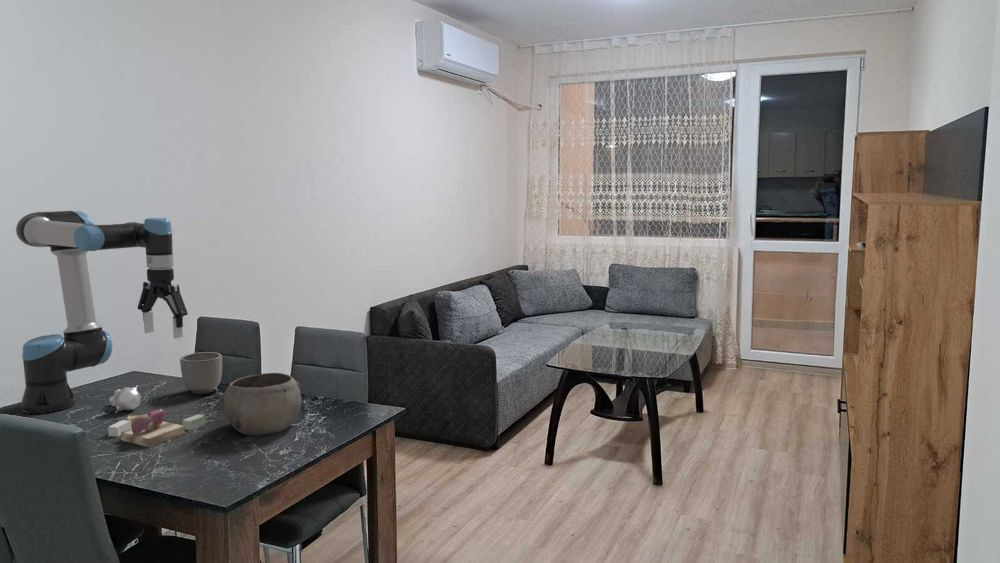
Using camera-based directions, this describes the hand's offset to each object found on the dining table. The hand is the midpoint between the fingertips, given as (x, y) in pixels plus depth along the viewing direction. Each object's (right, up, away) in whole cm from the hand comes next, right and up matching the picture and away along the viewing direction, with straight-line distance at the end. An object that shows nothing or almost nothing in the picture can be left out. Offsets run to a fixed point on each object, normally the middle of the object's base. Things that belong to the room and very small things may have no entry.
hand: (163, 335), depth 223 cm
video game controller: (+3, -27, -14) cm, 31 cm away
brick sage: (+12, -28, -4) cm, 31 cm away
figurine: (-19, -26, +13) cm, 34 cm away
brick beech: (-6, -28, -3) cm, 29 cm away
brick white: (-8, -29, -10) cm, 32 cm away
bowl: (+33, -28, -4) cm, 44 cm away
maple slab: (+4, -29, -14) cm, 32 cm away
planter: (-1, -23, +32) cm, 39 cm away
